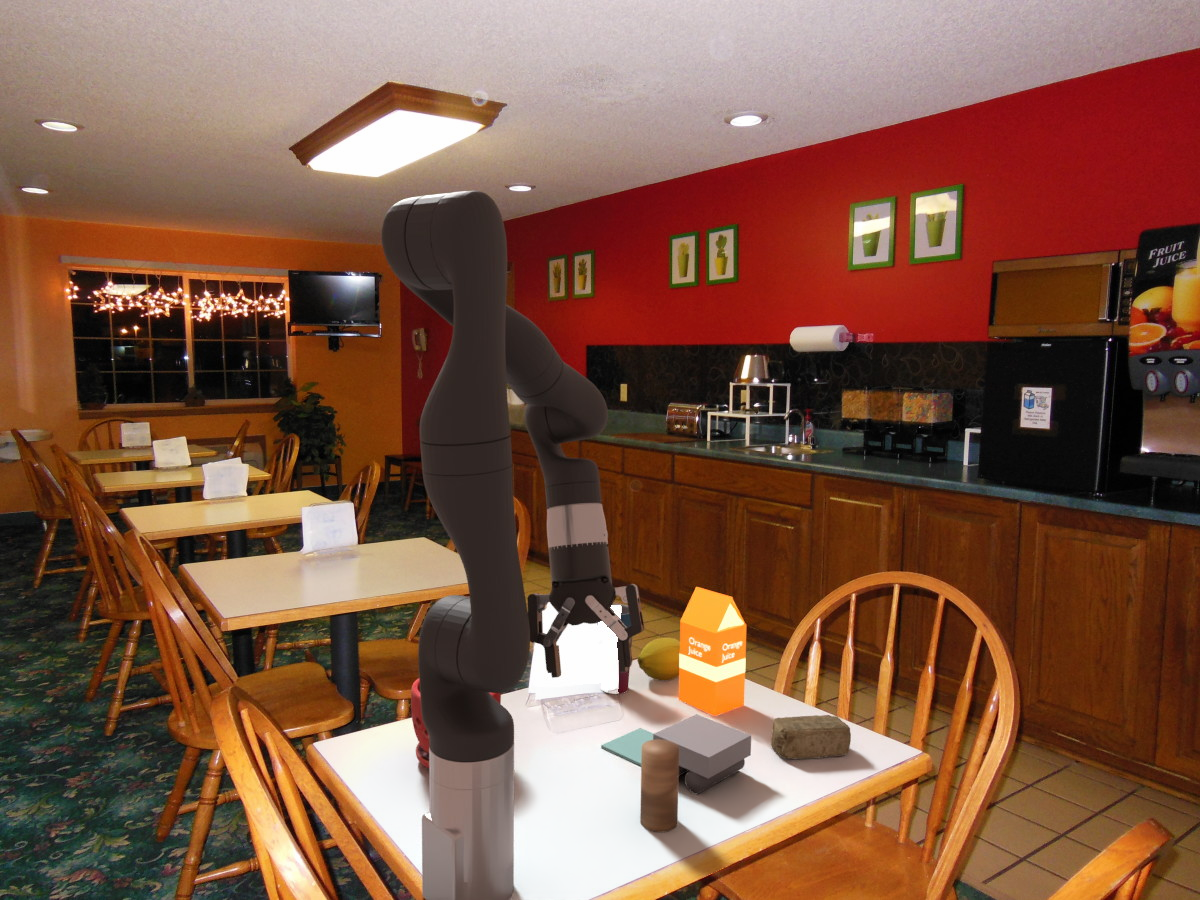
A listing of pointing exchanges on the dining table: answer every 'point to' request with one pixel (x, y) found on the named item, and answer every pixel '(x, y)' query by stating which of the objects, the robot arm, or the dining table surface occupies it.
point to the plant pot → (419, 726)
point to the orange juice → (712, 653)
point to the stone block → (810, 737)
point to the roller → (659, 785)
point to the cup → (627, 622)
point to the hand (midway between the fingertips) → (590, 674)
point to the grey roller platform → (707, 750)
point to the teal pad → (629, 745)
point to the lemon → (661, 659)
